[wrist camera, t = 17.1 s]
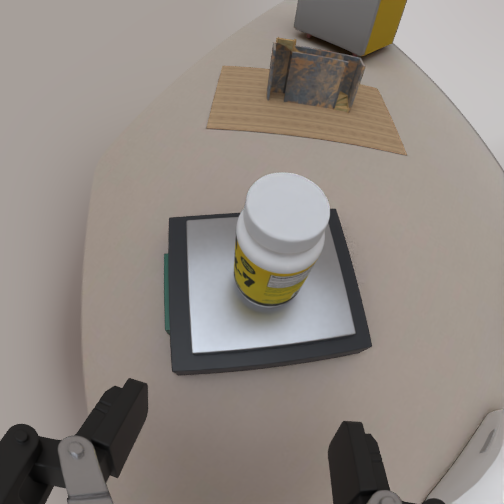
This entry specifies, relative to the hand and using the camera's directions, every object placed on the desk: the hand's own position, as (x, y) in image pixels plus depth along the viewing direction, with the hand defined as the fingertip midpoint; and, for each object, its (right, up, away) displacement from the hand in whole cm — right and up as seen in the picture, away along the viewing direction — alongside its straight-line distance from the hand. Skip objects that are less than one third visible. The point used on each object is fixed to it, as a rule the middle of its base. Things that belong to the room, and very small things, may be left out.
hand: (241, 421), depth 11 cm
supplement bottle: (+1, +5, +11) cm, 12 cm away
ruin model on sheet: (+8, +27, +27) cm, 39 cm away
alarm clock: (+20, +51, +41) cm, 68 cm away
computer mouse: (+21, -14, +6) cm, 26 cm away
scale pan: (+1, +5, +11) cm, 12 cm away
